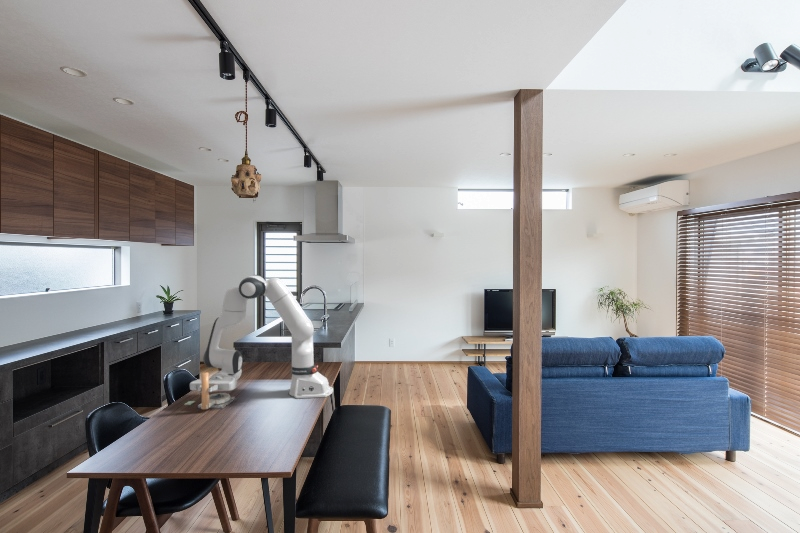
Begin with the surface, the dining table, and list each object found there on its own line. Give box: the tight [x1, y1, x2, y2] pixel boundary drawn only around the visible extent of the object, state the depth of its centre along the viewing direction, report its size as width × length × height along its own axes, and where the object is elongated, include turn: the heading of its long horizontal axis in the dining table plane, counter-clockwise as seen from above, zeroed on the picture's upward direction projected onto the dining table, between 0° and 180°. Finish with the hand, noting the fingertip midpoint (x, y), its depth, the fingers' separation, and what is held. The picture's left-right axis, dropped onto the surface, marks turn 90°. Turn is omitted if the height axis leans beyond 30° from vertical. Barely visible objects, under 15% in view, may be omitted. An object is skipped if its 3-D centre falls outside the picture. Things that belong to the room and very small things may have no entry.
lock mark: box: [183, 400, 196, 406], centre depth 187 cm, size 3×4×1 cm
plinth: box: [197, 393, 236, 409], centre depth 187 cm, size 12×12×4 cm
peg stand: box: [200, 371, 231, 410], centre depth 184 cm, size 17×11×16 cm, turn 177°
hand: (204, 390), depth 176 cm, fingers closed on peg stand, 3 cm apart
